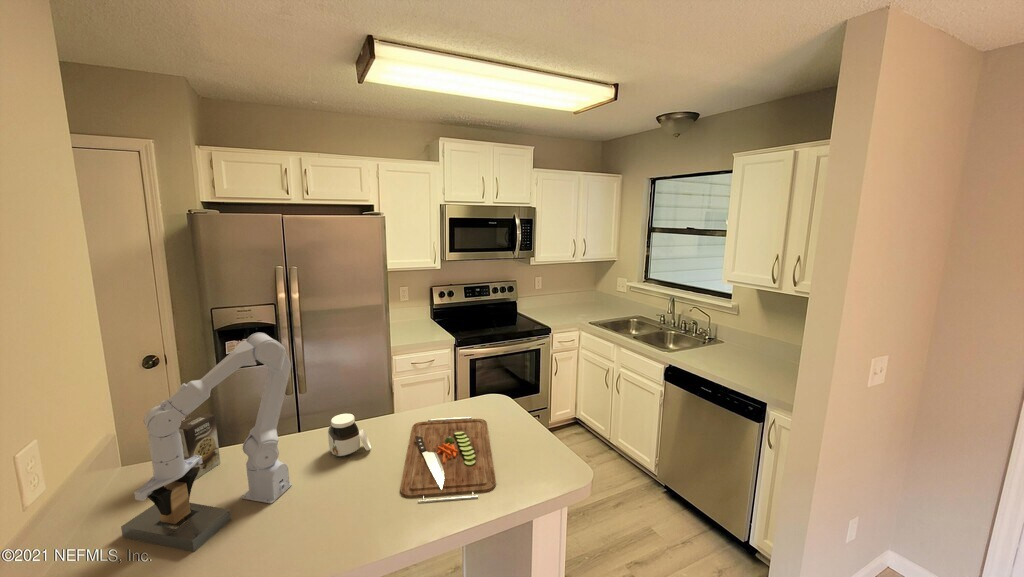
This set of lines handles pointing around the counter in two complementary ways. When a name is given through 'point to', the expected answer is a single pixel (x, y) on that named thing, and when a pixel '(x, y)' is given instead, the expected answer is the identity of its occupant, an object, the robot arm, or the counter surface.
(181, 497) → the square peg
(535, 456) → the counter surface
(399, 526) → the counter surface
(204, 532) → the grey peg hole board
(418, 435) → the chopping board
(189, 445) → the coffee box
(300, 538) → the counter surface
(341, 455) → the spread jar
